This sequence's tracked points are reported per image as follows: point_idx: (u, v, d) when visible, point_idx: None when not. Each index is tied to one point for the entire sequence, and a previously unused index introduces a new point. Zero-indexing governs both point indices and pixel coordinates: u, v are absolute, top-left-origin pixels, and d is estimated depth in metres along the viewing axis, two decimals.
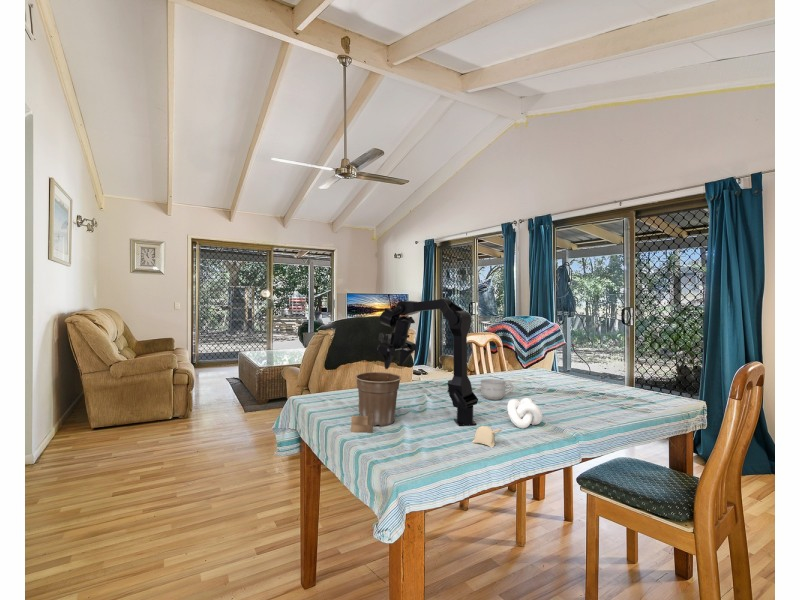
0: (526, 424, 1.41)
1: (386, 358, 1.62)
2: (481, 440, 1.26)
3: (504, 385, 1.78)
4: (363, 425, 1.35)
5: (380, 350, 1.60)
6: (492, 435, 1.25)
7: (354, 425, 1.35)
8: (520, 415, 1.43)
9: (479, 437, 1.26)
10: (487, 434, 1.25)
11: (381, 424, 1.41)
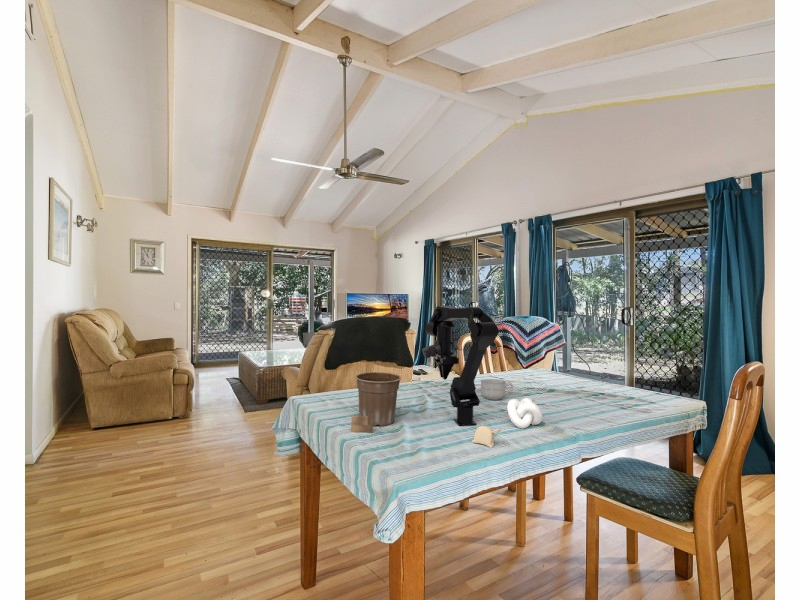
0: (526, 424, 1.41)
1: (445, 368, 1.56)
2: (480, 440, 1.26)
3: (504, 385, 1.78)
4: (363, 425, 1.35)
5: (448, 361, 1.49)
6: (491, 435, 1.25)
7: (354, 425, 1.35)
8: (520, 415, 1.43)
9: (478, 437, 1.26)
10: (487, 434, 1.25)
11: (381, 424, 1.41)
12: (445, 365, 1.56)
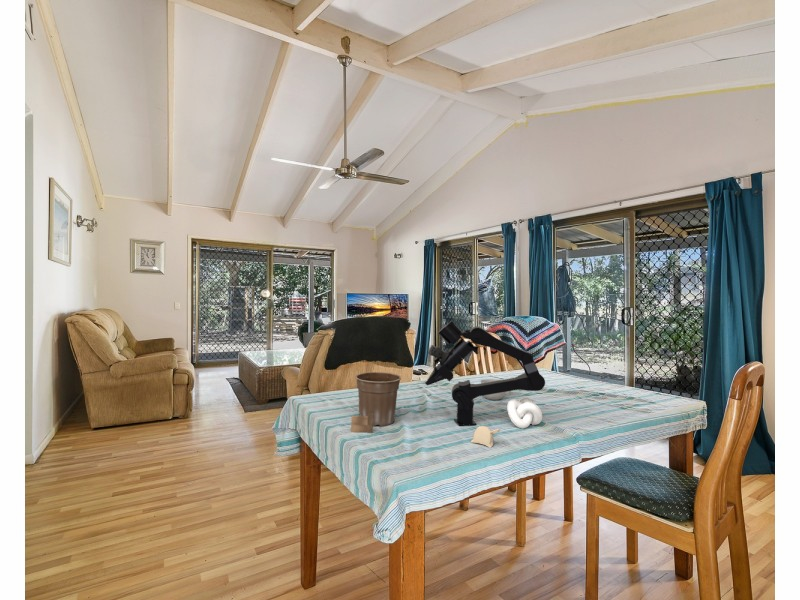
0: (526, 424, 1.41)
1: (435, 375, 1.45)
2: (479, 440, 1.26)
3: None
4: (363, 425, 1.35)
5: (442, 371, 1.37)
6: (490, 435, 1.25)
7: (354, 425, 1.35)
8: (520, 415, 1.43)
9: (477, 437, 1.26)
10: (486, 434, 1.25)
11: (381, 424, 1.41)
12: (437, 373, 1.45)
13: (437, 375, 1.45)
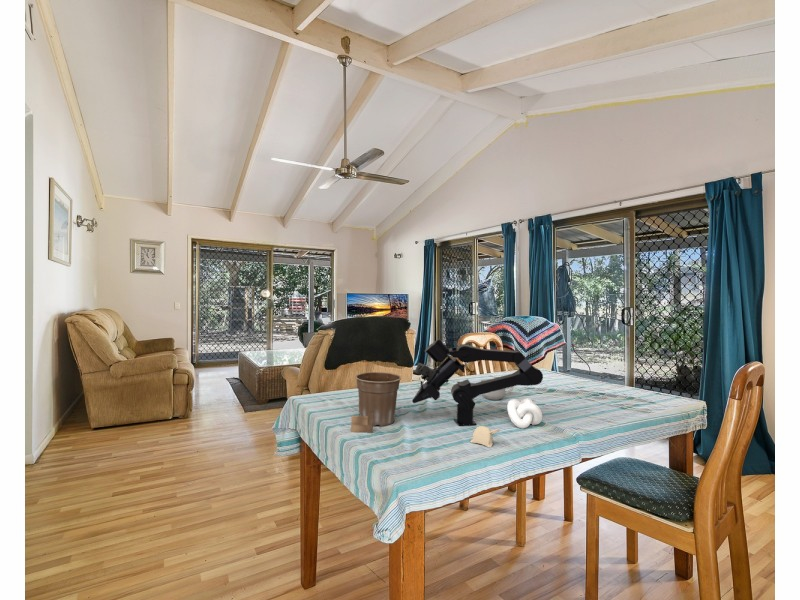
0: (526, 424, 1.41)
1: (422, 394, 1.45)
2: (479, 440, 1.26)
3: None
4: (363, 425, 1.35)
5: (428, 390, 1.37)
6: (490, 435, 1.25)
7: (354, 425, 1.35)
8: (520, 415, 1.43)
9: (477, 437, 1.26)
10: (485, 434, 1.25)
11: (381, 424, 1.41)
12: (424, 391, 1.45)
13: (424, 393, 1.45)
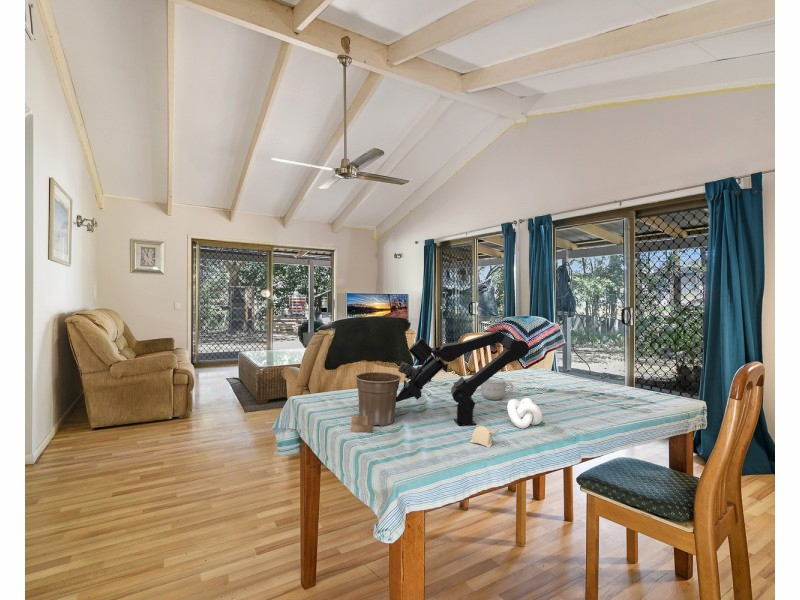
0: (526, 424, 1.41)
1: (405, 393, 1.45)
2: (478, 440, 1.26)
3: (504, 385, 1.78)
4: (363, 425, 1.35)
5: (410, 389, 1.37)
6: (489, 435, 1.25)
7: (354, 425, 1.35)
8: (520, 415, 1.43)
9: (476, 437, 1.26)
10: (484, 434, 1.25)
11: (381, 424, 1.41)
12: (406, 390, 1.45)
13: (406, 392, 1.45)
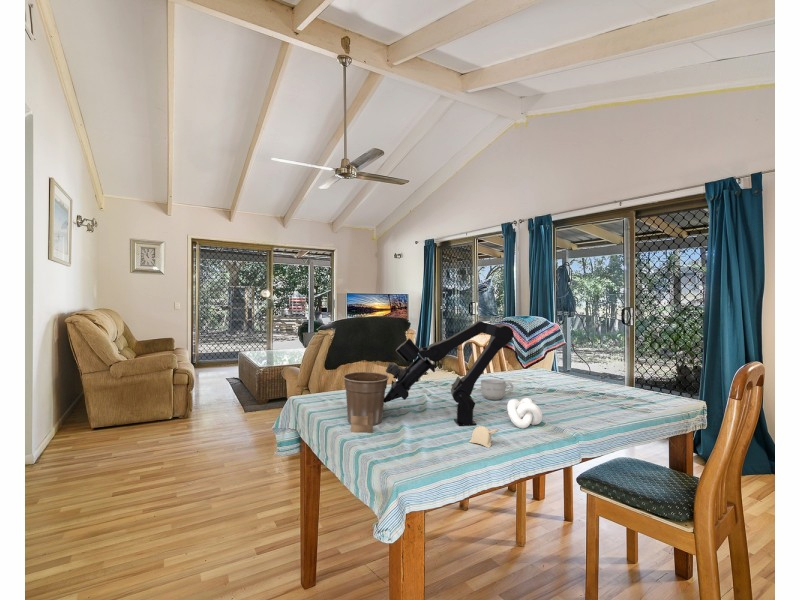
0: (526, 424, 1.41)
1: (392, 393, 1.45)
2: (477, 440, 1.26)
3: (504, 385, 1.78)
4: (363, 425, 1.35)
5: (397, 390, 1.37)
6: (488, 435, 1.24)
7: (354, 425, 1.35)
8: (520, 415, 1.43)
9: (476, 437, 1.26)
10: (484, 434, 1.25)
11: None
12: (394, 391, 1.45)
13: (394, 393, 1.45)
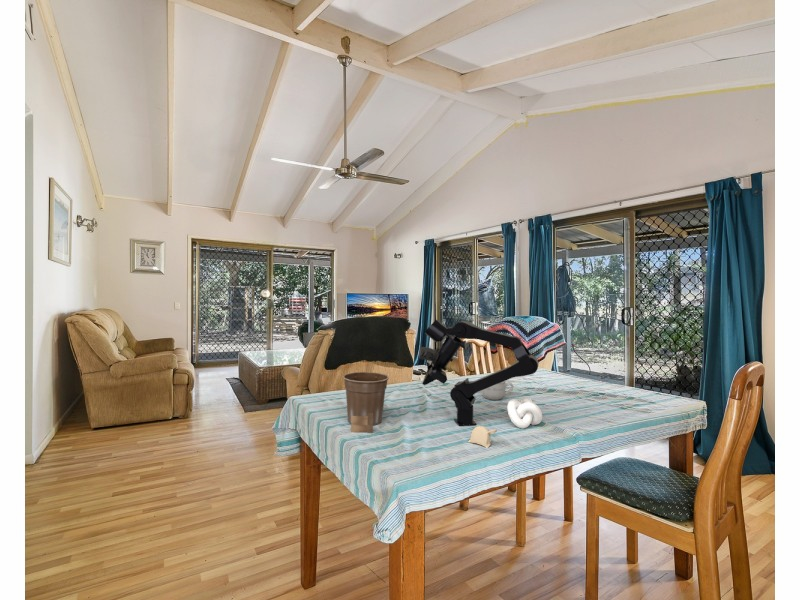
0: (526, 424, 1.41)
1: (430, 376, 1.49)
2: (477, 440, 1.25)
3: (504, 385, 1.78)
4: (363, 425, 1.35)
5: (435, 376, 1.40)
6: (487, 435, 1.24)
7: (354, 425, 1.35)
8: (520, 415, 1.43)
9: (475, 437, 1.26)
10: (483, 434, 1.25)
11: None
12: None
13: None
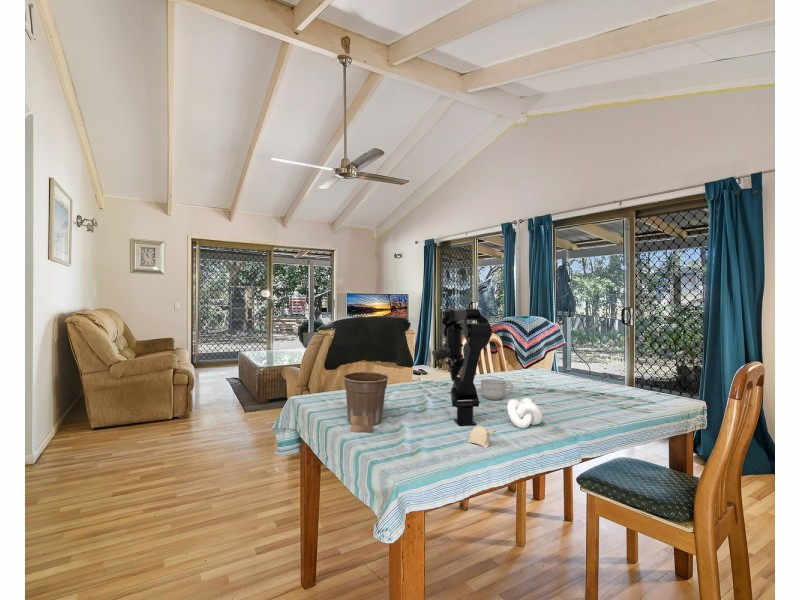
0: (526, 424, 1.41)
1: (454, 369, 1.58)
2: (475, 440, 1.25)
3: (504, 385, 1.78)
4: (363, 425, 1.35)
5: (458, 364, 1.50)
6: (486, 435, 1.24)
7: (354, 425, 1.35)
8: (520, 415, 1.43)
9: (474, 437, 1.26)
10: (482, 434, 1.25)
11: None
12: (454, 367, 1.58)
13: (455, 368, 1.58)
